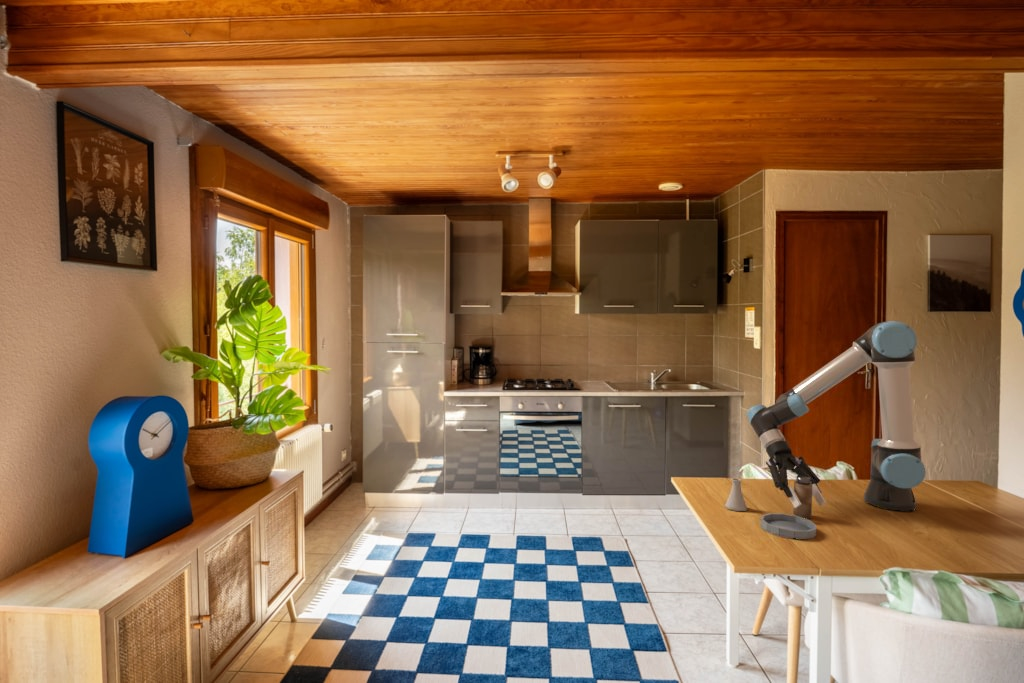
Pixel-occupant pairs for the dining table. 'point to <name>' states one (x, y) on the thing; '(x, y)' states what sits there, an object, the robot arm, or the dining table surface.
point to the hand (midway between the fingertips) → (810, 505)
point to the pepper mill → (803, 496)
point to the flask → (736, 497)
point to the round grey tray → (788, 526)
